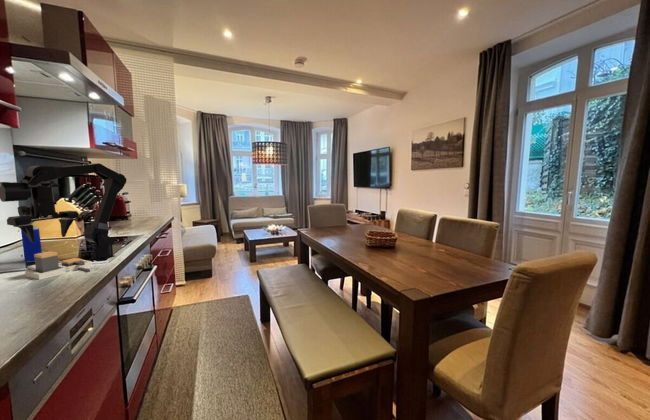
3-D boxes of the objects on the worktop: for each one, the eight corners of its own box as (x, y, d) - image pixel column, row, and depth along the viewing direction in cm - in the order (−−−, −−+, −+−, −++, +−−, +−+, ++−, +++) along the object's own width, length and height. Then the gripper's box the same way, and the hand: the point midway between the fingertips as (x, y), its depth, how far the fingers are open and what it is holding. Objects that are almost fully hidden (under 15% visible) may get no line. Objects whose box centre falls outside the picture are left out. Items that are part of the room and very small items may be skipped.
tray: (57, 262, 113) (56, 259, 113) (69, 265, 110) (69, 262, 110) (27, 269, 105) (27, 266, 105) (40, 272, 102) (40, 269, 102)
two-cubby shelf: (78, 263, 112) (78, 258, 112) (92, 266, 109) (91, 261, 109) (25, 276, 97) (24, 271, 97) (39, 280, 94) (38, 274, 94)
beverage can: (46, 259, 117) (42, 225, 115) (32, 263, 112) (27, 228, 110) (35, 258, 118) (31, 225, 116) (21, 262, 113) (16, 227, 111)
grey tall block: (52, 271, 102) (50, 251, 101) (59, 273, 101) (57, 252, 100) (36, 275, 98) (34, 254, 97) (43, 277, 97) (41, 255, 96)
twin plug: (76, 266, 109) (75, 257, 109) (95, 270, 105) (94, 261, 105) (62, 269, 105) (61, 260, 105) (81, 273, 101) (80, 264, 101)
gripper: (60, 196, 112) (65, 232, 114) (-6, 200, 95) (1, 243, 97) (77, 197, 109) (82, 235, 111) (13, 202, 91) (19, 246, 93)
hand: (48, 239), depth 103 cm, fingers open, 9 cm apart
